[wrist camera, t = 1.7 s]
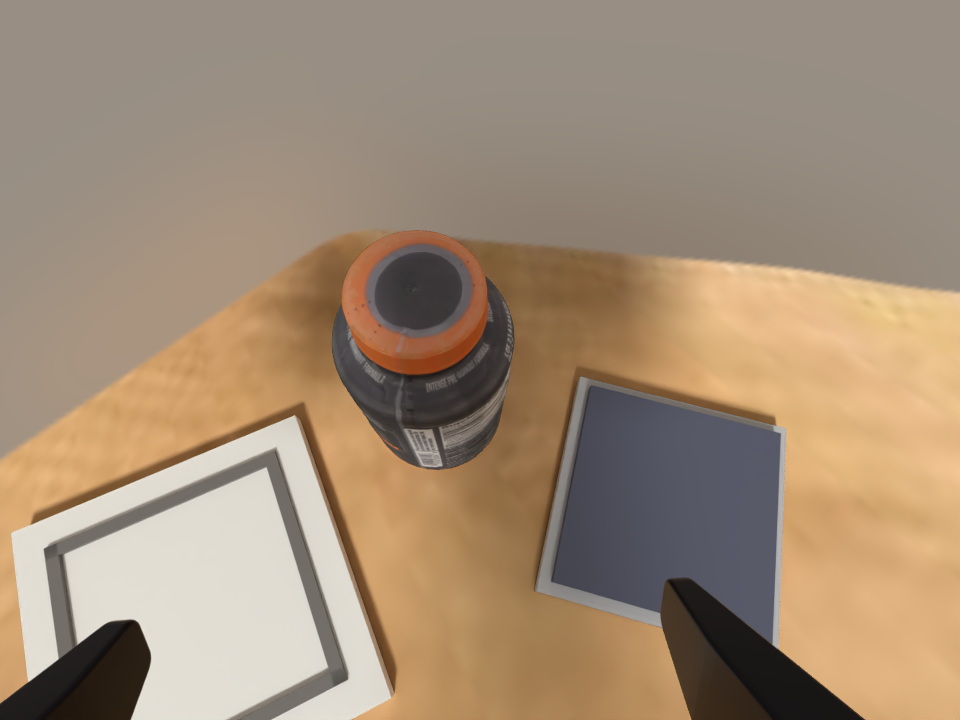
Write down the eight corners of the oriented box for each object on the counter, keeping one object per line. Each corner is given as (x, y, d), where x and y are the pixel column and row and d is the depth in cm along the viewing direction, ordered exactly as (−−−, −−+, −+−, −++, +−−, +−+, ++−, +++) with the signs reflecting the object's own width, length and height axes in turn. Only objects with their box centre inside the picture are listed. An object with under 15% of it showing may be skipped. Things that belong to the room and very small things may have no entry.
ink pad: (768, 658, 20) (785, 664, 19) (534, 590, 21) (537, 592, 20) (777, 432, 24) (792, 425, 23) (577, 381, 25) (582, 372, 24)
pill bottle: (366, 365, 25) (291, 216, 14) (483, 340, 26) (493, 180, 15) (387, 486, 23) (316, 414, 12) (515, 455, 23) (552, 361, 13)
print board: (394, 693, 20) (390, 699, 19) (68, 867, 18) (46, 883, 17) (300, 420, 24) (293, 413, 23) (26, 534, 22) (7, 532, 21)
